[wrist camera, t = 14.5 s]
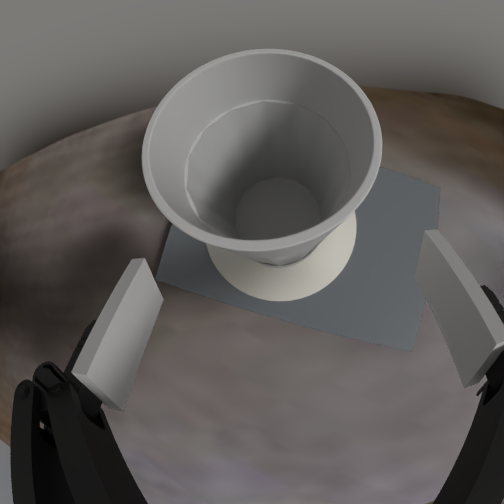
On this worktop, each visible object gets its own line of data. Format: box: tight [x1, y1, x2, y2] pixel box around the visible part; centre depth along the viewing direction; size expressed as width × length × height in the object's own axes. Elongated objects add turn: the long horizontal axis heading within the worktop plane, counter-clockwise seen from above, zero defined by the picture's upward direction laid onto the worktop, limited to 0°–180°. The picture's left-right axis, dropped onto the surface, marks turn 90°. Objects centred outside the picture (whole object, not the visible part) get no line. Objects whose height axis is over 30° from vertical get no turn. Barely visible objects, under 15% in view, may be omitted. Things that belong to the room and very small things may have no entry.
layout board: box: [155, 167, 440, 352], centre depth 20 cm, size 20×13×1 cm, turn 74°
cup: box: [142, 49, 382, 268], centre depth 14 cm, size 8×8×12 cm
